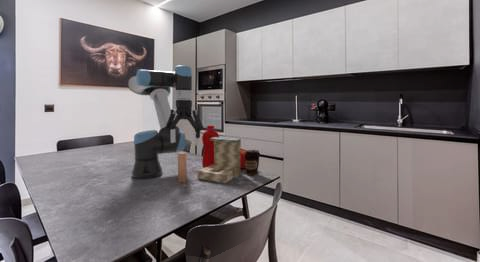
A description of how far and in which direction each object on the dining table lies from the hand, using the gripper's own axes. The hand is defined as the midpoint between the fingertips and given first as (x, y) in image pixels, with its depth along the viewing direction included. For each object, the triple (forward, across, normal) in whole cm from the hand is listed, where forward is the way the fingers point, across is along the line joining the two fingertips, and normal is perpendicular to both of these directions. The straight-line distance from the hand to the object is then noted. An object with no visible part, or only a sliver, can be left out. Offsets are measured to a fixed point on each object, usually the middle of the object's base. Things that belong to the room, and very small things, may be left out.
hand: (184, 143), depth 114 cm
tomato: (+19, +16, +33) cm, 41 cm away
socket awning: (+18, +12, +14) cm, 26 cm away
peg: (+19, 0, -1) cm, 19 cm away
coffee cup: (+19, +27, +23) cm, 40 cm away
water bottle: (+19, -3, +29) cm, 35 cm away
